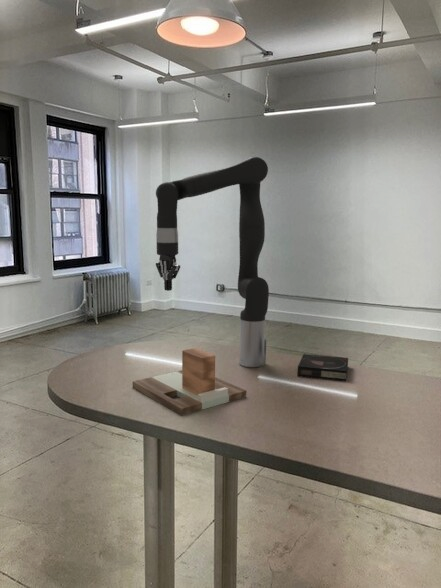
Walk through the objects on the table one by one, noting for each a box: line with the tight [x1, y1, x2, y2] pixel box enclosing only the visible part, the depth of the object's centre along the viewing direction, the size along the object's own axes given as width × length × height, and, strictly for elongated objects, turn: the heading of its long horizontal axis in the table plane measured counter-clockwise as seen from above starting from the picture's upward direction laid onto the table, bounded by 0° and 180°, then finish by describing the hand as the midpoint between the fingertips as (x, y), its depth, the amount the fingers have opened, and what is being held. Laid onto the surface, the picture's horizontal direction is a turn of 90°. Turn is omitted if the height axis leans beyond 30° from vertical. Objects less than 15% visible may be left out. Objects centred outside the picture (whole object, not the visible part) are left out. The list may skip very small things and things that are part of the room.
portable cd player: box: [296, 353, 349, 382], centre depth 176 cm, size 16×17×4 cm
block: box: [181, 347, 216, 396], centre depth 149 cm, size 5×10×12 cm, turn 39°
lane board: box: [132, 369, 247, 416], centre depth 154 cm, size 24×28×4 cm
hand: (168, 290), depth 173 cm, fingers closed
